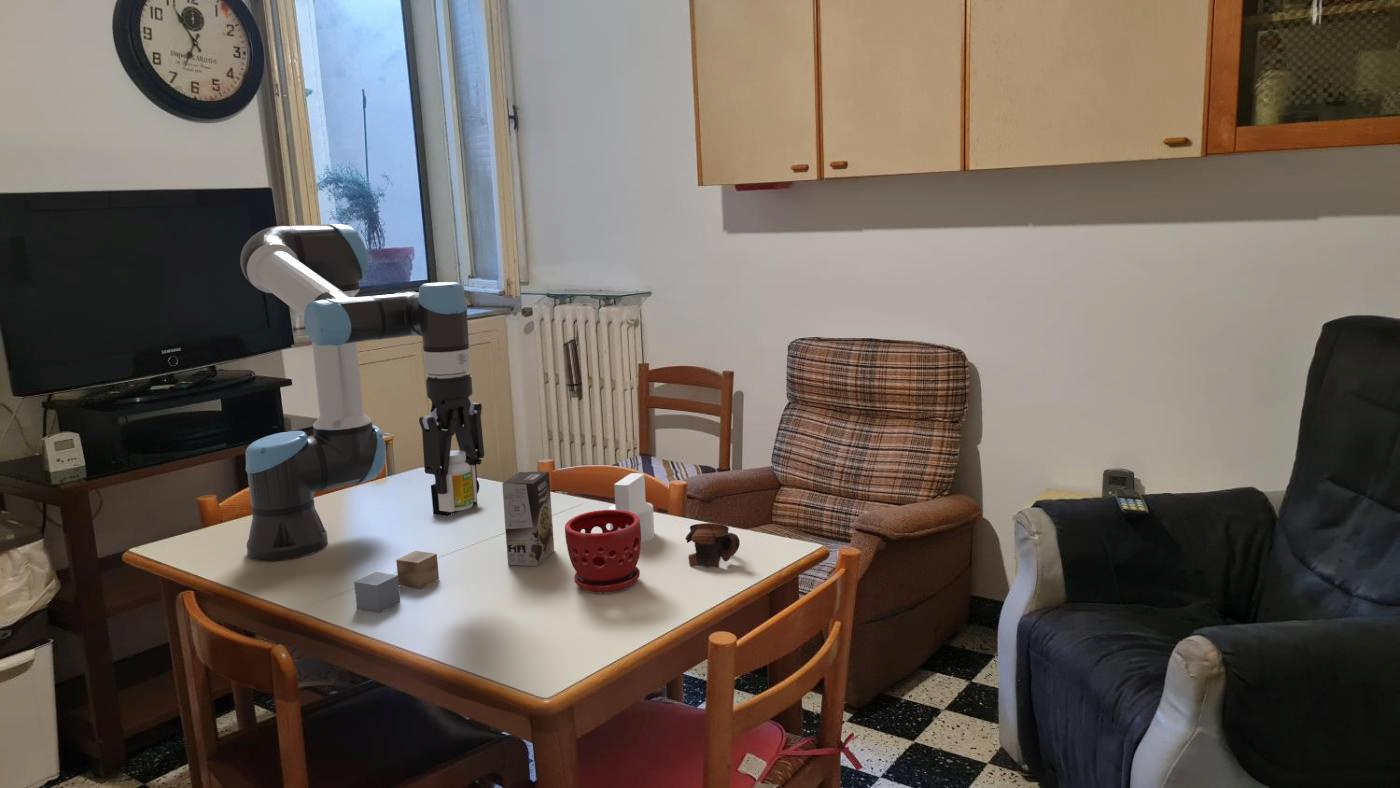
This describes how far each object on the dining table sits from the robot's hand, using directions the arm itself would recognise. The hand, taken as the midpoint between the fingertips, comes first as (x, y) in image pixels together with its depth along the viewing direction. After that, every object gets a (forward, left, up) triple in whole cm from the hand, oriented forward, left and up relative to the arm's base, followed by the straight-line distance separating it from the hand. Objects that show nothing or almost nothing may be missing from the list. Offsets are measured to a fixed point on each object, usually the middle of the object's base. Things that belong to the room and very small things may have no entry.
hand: (458, 505), depth 167 cm
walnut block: (-11, 0, -16) cm, 19 cm away
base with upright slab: (+13, +36, -16) cm, 41 cm away
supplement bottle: (0, 0, -1) cm, 1 cm away
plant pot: (+22, +11, -16) cm, 29 cm away
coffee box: (+1, +18, -16) cm, 24 cm away
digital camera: (-34, +39, -16) cm, 54 cm away
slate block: (-10, -11, -16) cm, 21 cm away
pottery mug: (+35, +29, -16) cm, 48 cm away
